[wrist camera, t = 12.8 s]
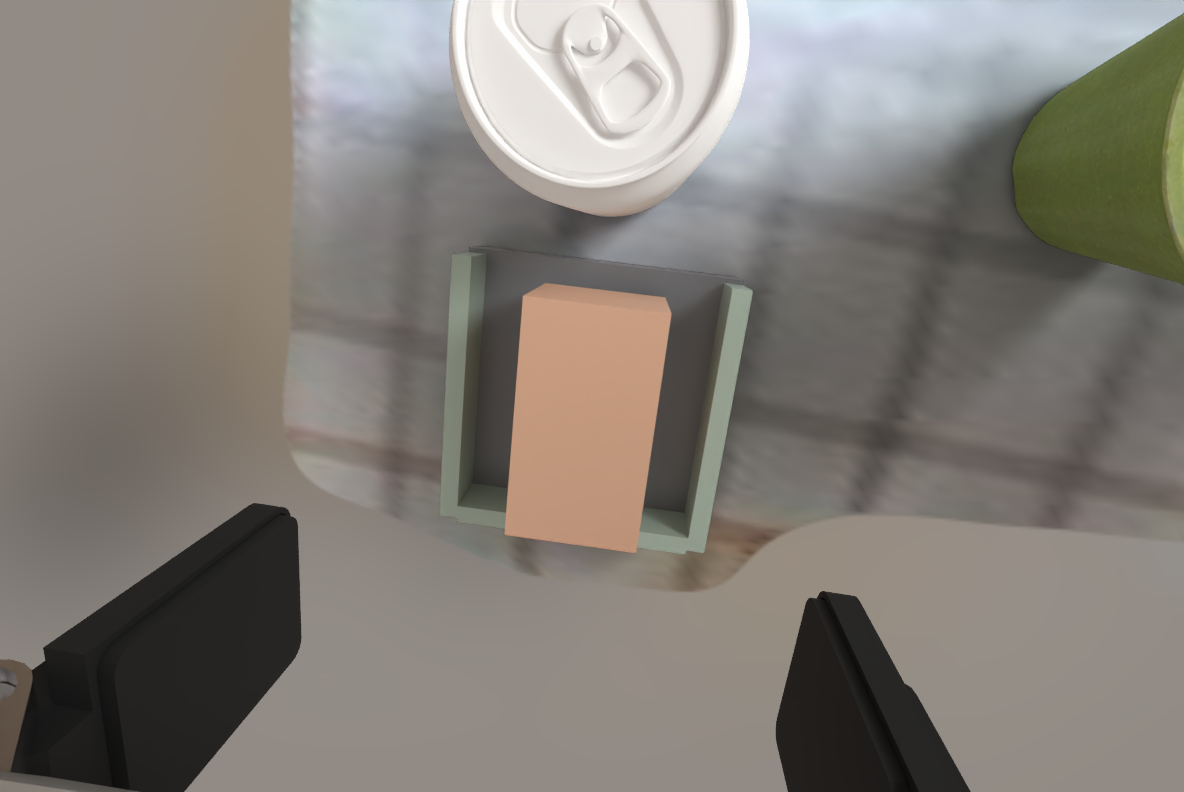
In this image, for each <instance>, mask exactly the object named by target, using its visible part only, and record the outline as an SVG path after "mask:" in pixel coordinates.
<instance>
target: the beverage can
mask: <svg viewBox="0 0 1184 792" xmlns="http://www.w3.org/2000/svg"><path fill="white" fill-rule="evenodd" d="M449 56H450V66H451V73H452V79H453V84H454V88H455V92H456V96H457V99H458V102H459V105H460V108H461V111H462V113H463V116H464V118H465V120H466V122H467V125H468V126H469V128H470V130H471V132H472V134H473V136H474V137H475V139H476V141H477V142H478V144H479V145H480V147H481V148H482V150H483V151H484V152H485V154H486V155H487V156H488V157H489V159H490V160H491V161H492V162H493V163H494V164H495V165H496V166H497V167H498V168H499V169H500V170H501V171H502V172H503V173H504V174H505V175H506V176H507V177H508V178H510V179H511V180H512V181H513V182H515V183H516V184H517V185H519V186H520V187H522V188H523V189H525V190H527V191H528V192H530V193H532V194H534V195H536V196H538V197H540V198H542V199H544V200H547V201H549V202H552V203H555V204H558V205H561V206H564V207H568V208H571V209H574V210H578V211H581V212H584V213H588V214H591V215H596V216H603V217H620V216H627V215H632V214H636V213H639V212H642V211H645V210H647V209H649V208H651V207H653V206H655V205H657V204H659V203H660V202H662V201H663V200H665V199H666V198H668V197H669V196H670V195H671V194H672V193H673V192H675V191H676V190H677V189H678V188H679V187H680V186H681V185H682V183H683V182H684V181H685V180H686V179H687V178H688V177H689V176H690V175H691V174H692V173H693V171H694V170H695V169H696V168H697V167H698V166H699V165H700V164H701V163H702V162H703V160H704V159H705V158H706V157H707V156H708V155H709V153H710V152H711V151H712V149H713V148H714V147H715V145H716V144H717V143H718V141H719V140H720V138H721V136H722V135H723V133H724V131H725V130H726V128H727V126H728V124H729V122H730V120H731V118H732V116H733V114H734V112H735V109H736V107H737V104H738V101H739V98H740V95H741V92H742V89H743V85H744V81H745V76H746V71H747V65H748V57H749V18H748V10H747V4H746V0H454V3H453V8H452V13H451V21H450V32H449Z"/></svg>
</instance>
